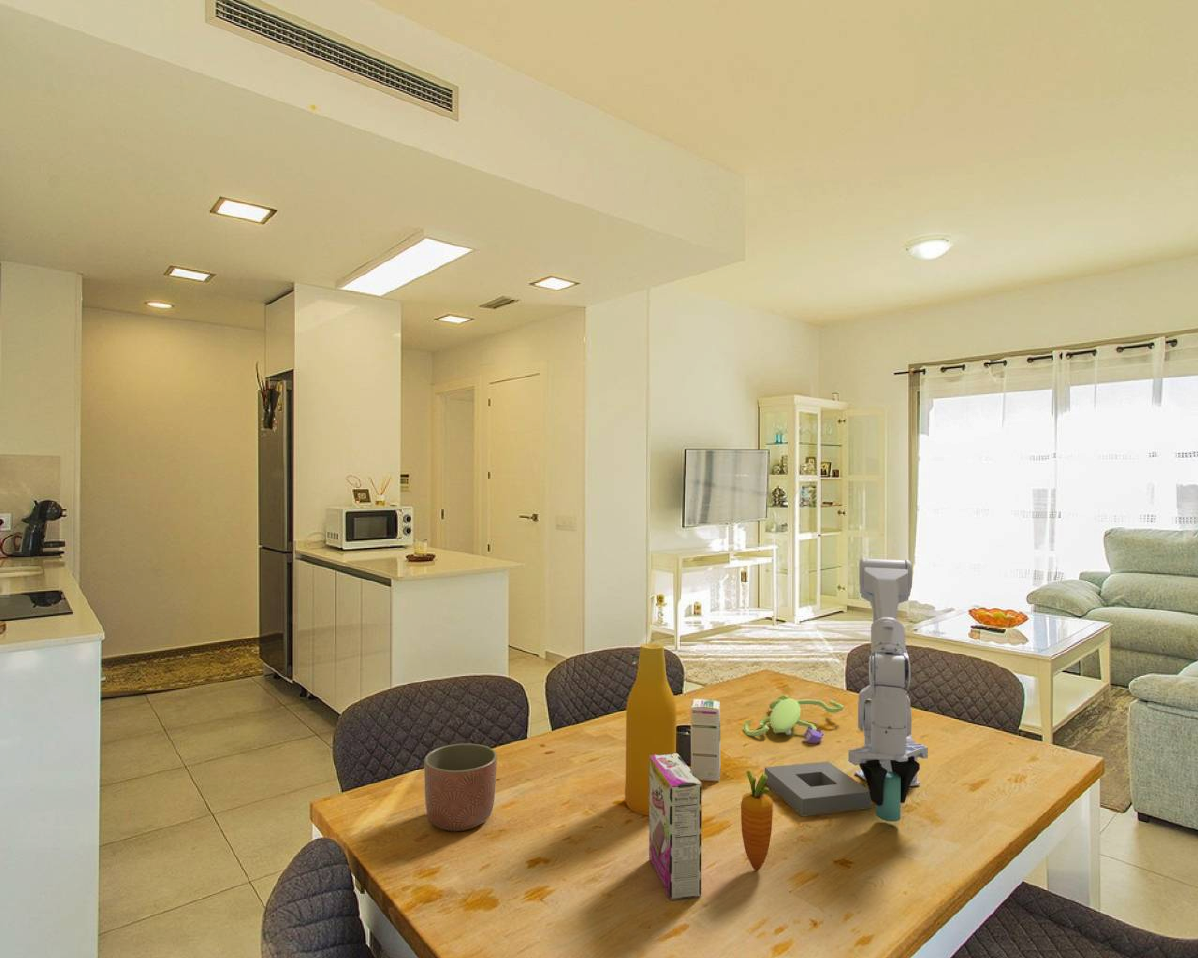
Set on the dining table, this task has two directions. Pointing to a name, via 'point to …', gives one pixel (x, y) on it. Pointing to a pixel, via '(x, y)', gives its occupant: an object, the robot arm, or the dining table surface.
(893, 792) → the peg
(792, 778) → the socket
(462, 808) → the planter
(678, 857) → the candy bar box
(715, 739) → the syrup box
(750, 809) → the carrot
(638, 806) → the beer bottle
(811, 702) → the figurine
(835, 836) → the dining table surface
